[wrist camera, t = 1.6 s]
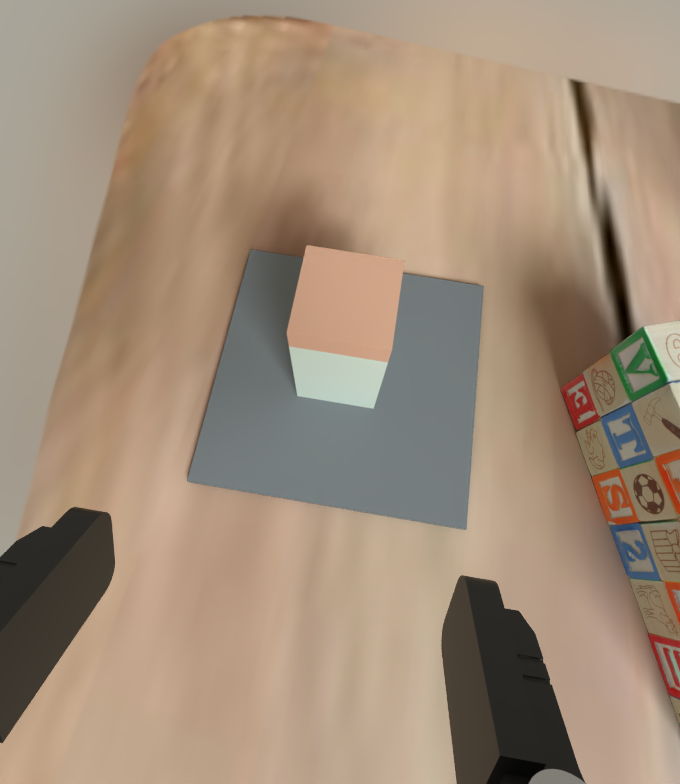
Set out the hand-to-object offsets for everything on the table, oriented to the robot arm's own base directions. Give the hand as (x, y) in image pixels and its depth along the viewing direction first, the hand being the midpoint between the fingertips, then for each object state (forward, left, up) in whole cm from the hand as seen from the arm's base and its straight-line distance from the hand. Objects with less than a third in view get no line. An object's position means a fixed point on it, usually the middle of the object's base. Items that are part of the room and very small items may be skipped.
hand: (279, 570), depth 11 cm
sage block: (0, -13, -17) cm, 21 cm away
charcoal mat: (-1, -12, -18) cm, 21 cm away
